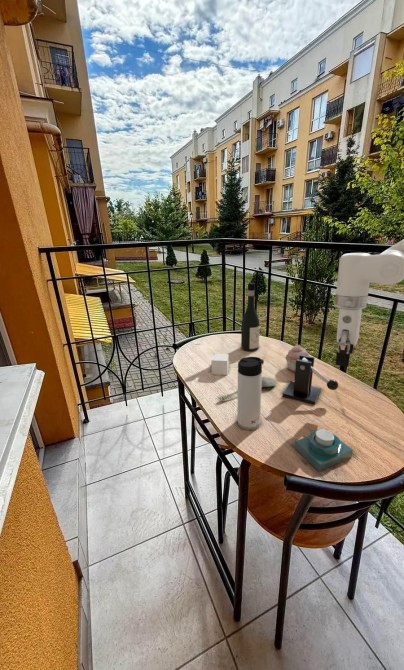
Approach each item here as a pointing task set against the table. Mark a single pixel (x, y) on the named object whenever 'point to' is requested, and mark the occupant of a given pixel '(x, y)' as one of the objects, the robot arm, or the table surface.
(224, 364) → the white cube
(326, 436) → the flush button
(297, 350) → the cupcake
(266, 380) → the soupspoon
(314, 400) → the lever bracket
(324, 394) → the table surface
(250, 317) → the wine bottle
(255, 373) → the travel mug
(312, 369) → the flush lever
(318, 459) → the plate
